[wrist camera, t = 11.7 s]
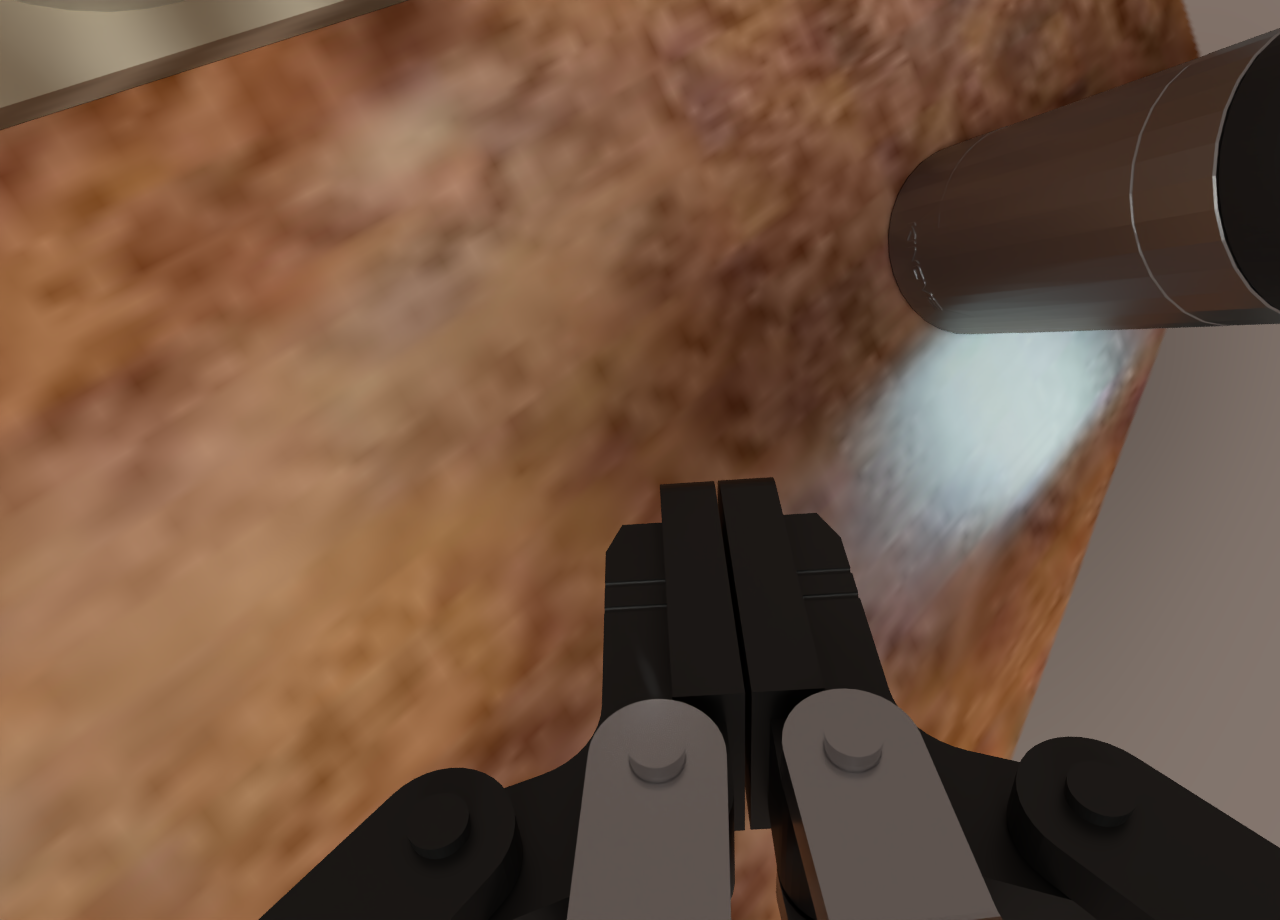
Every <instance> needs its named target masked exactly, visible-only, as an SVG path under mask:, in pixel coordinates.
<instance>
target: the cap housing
mask: <svg viewBox="0 0 1280 920" xmlns="http://www.w3.org/2000/svg"><path fill="white" fill-rule="evenodd" d="M15 1H19V2H23V3H26V4H31V5H38V6H44V7H51V8H57V9H63V10H70V11H96V12H117V11H128V10H139V9H150V8H155V7H159V6H164V5H168V4H172V3H177V2H181V1H186V0H15Z"/></svg>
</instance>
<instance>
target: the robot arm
mask: <svg viewBox="0 0 1280 920" xmlns="http://www.w3.org/2000/svg"><path fill="white" fill-rule="evenodd" d="M889 255H890V260H891V264H892V269H893V273H894V276H895V279H896V281H897V283H898V286H899V288H900V290H901V293H902V294H903V296H904V297H905V298H906V300H907V301H908V303H909V304H910V306H911V307H912V309H914V310H915V311H916V312H917V313H918V314H919V315H920V316H921V317H922V318H923V319H924V320H925V321H927V322H929V323H930V324H932V325H934V326H936V327H937V328H939V329H941V330H945V331H949V332H952V333H956V334H993V333H1034V332H1064V331H1093V330H1122V329H1151V328H1178V327H1179V328H1180V327H1210V326H1229V325H1256V324H1280V28H1279V29H1276V30H1274V31H1270V32H1268V33H1265V34H1262V35H1259V36H1256V37H1254V38H1251V39H1248V40H1246V41H1243V42H1240V43H1238V44H1234V45H1232V46H1229V47H1226V48H1223V49H1220V50H1218V51H1215V52H1212V53H1209V54H1208V55H1205V56H1202V57H1199V58H1197V59H1194V60H1191V61H1188V62H1185V63H1183V64H1180V65H1177V66H1174V67H1172V68H1169V69H1166V70H1163V71H1160V72H1158V73H1155V74H1152V75H1149V76H1146V77H1144V78H1141V79H1138V80H1135V81H1132V82H1130V83H1127V84H1124V85H1121V86H1119V87H1116V88H1113V89H1110V90H1107V91H1105V92H1102V93H1099V94H1096V95H1093V96H1091V97H1088V98H1085V99H1082V100H1079V101H1077V102H1074V103H1071V104H1068V105H1066V106H1063V107H1060V108H1057V109H1054V110H1052V111H1049V112H1046V113H1043V114H1040V115H1038V116H1035V117H1032V118H1029V119H1026V120H1024V121H1021V122H1018V123H1015V124H1013V125H1010V126H1006V127H1003V128H1000V129H997V130H995V131H992V132H989V133H986V134H984V135H981V136H978V137H975V138H973V139H970V140H967V141H964V142H962V143H959V144H956V145H953V146H951V147H948V148H946V149H943V150H941V151H938V152H936V153H934V154H933V155H932V156H930V157H929V158H927V159H926V160H925V161H923V162H922V163H921V164H920V165H919V166H918V167H917V168H916V169H915V170H914V171H913V173H912V174H911V175H910V176H909V177H908V179H907V180H906V182H905V184H904V186H903V187H902V189H901V191H900V193H899V194H898V197H897V200H896V203H895V206H894V209H893V212H892V215H891V222H890V229H889ZM660 495H661V512H662V523H649V524H633V525H622V527H621V528H620V530H619V532H618V533H617V535H616V537H615V538H614V540H613V541H612V543H611V545H610V546H609V548H608V550H607V551H606V568H605V614H604V648H603V687H602V710H601V717H600V720H599V723H598V726H597V728H596V730H595V732H594V734H593V736H592V737H591V739H590V740H589V742H588V743H587V744H586V746H585V747H584V748H583V749H582V750H581V751H580V752H579V753H578V754H577V755H576V756H574V757H573V758H572V759H571V760H569V761H568V762H567V763H565V764H563V765H561V766H560V767H558V768H556V769H554V770H552V771H550V772H547V773H545V774H543V775H540V776H537V777H534V778H532V779H529V780H526V781H523V782H520V783H518V784H515V785H512V786H509V787H507V788H503V786H502V785H501V784H500V783H499V782H497V781H496V780H495V779H494V778H492V777H490V776H489V775H487V774H485V773H483V772H480V771H477V770H473V769H467V768H447V769H441V770H436V771H433V772H430V773H427V774H424V775H422V776H420V777H418V778H415V779H414V780H412V781H410V782H409V783H407V784H406V785H404V786H403V787H401V788H400V789H399V790H398V791H396V792H395V793H394V794H393V795H392V796H391V797H390V798H389V799H387V800H386V801H385V802H384V803H383V804H382V805H381V806H380V807H379V808H378V809H377V810H376V811H375V812H374V813H372V814H371V815H370V816H369V817H368V818H367V819H366V820H365V821H364V822H363V823H362V824H361V825H360V826H358V827H357V828H356V829H355V830H354V831H353V832H352V833H351V834H350V835H349V836H348V837H347V838H346V839H345V840H343V841H342V842H341V843H340V844H339V845H338V846H337V847H336V848H335V849H334V850H333V851H332V852H331V853H329V854H328V855H327V856H326V857H325V858H324V859H323V860H322V861H321V862H320V863H319V864H318V865H317V866H316V867H314V868H313V869H312V870H311V871H310V872H309V873H308V874H307V875H306V876H305V877H304V878H303V879H302V880H300V881H299V882H298V883H297V884H296V885H295V886H294V887H293V888H292V889H291V890H290V891H289V892H288V893H287V894H285V895H284V896H283V897H282V898H281V899H280V900H279V901H278V902H277V903H276V904H275V905H274V906H273V907H272V908H270V909H269V910H268V911H267V912H266V913H265V914H264V915H263V916H262V917H261V918H260V919H259V920H731V897H732V895H733V890H734V884H735V859H734V831H740V830H745V791H746V799H747V806H748V814H749V822H750V829H770V828H771V830H772V837H773V843H774V850H775V856H776V863H777V877H776V896H777V903H778V907H779V912H780V916H781V920H1280V848H1279V847H1277V846H1276V845H1274V844H1273V843H1271V842H1269V841H1268V840H1266V839H1265V838H1263V837H1262V836H1260V835H1258V834H1257V833H1255V832H1254V831H1252V830H1250V829H1249V828H1247V827H1246V826H1244V825H1242V824H1241V823H1239V822H1238V821H1236V820H1235V819H1233V818H1231V817H1230V816H1228V815H1227V814H1225V813H1223V812H1222V811H1220V810H1219V809H1217V808H1215V807H1214V806H1212V805H1211V804H1209V803H1208V802H1206V801H1204V800H1203V799H1201V798H1200V797H1198V796H1197V795H1195V794H1193V793H1192V792H1190V791H1189V790H1187V789H1186V788H1184V787H1182V786H1181V785H1179V784H1178V783H1176V782H1174V781H1173V780H1171V779H1170V778H1168V777H1167V776H1165V775H1163V774H1162V773H1160V772H1159V771H1157V770H1155V769H1154V768H1152V767H1151V766H1149V765H1148V764H1146V763H1144V762H1143V761H1141V760H1140V759H1138V758H1136V757H1135V756H1133V755H1131V754H1129V753H1128V752H1126V751H1124V750H1122V749H1120V748H1118V747H1115V746H1113V745H1111V744H1108V743H1105V742H1101V741H1098V740H1094V739H1089V738H1082V737H1060V738H1054V739H1050V740H1046V741H1044V742H1042V743H1040V744H1038V745H1036V746H1034V747H1033V748H1032V749H1030V750H1029V751H1028V752H1027V753H1026V754H1025V756H1024V757H1023V758H1022V760H1021V762H1017V761H1012V760H1008V759H1003V758H999V757H994V756H990V755H985V754H981V753H976V752H972V751H967V750H964V749H960V748H957V747H953V746H951V745H948V744H946V743H943V742H941V741H939V740H937V739H935V738H933V737H932V736H930V735H928V734H926V733H925V732H924V731H922V730H921V729H919V728H918V727H917V726H916V725H915V724H914V722H913V721H912V720H911V718H910V717H909V716H908V715H907V714H906V713H905V712H904V711H903V710H901V709H900V708H899V707H898V706H897V705H896V703H895V701H894V700H893V698H892V695H891V693H890V691H889V688H888V685H887V682H886V678H885V675H884V672H883V669H882V666H881V663H880V660H879V656H878V653H877V650H876V647H875V644H874V641H873V638H872V634H871V631H870V628H869V625H868V622H867V619H866V616H865V612H864V609H863V606H862V603H861V600H860V598H858V590H857V587H856V584H855V581H854V578H853V575H852V573H851V572H850V565H849V562H848V559H847V556H846V553H845V550H844V546H843V543H842V540H841V537H840V536H839V535H838V534H837V533H836V532H835V531H834V530H833V529H832V528H831V527H830V526H829V525H828V524H827V523H826V522H825V521H824V520H823V519H822V518H821V517H820V516H819V515H818V514H817V513H807V514H791V515H783V513H782V509H781V504H780V500H779V496H778V492H777V488H776V484H775V481H774V478H773V477H769V478H753V479H737V480H721V481H718V503H717V496H716V489H715V484H714V481H709V482H693V483H677V484H661V485H660Z"/></svg>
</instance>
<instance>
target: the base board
mask: <svg viewBox="0 0 1280 920" xmlns="http://www.w3.org/2000/svg"><path fill="white" fill-rule="evenodd" d="M404 1H407V0H186V1H181V2H177V3H172V4H168V5H164V6H159V7H155V8H150V9H139V10H128V11H117V12H96V11H70V10H63V9H57V8H51V7H44V6H38V5H31V4H26V3H23V2H19V1H15V0H0V130H2V129H5V128H8V127H11V126H14V125H17V124H20V123H24V122H27V121H30V120H33V119H36V118H39V117H42V116H46V115H49V114H52V113H55V112H58V111H61V110H64V109H68V108H71V107H74V106H77V105H80V104H83V103H86V102H90V101H93V100H96V99H99V98H102V97H105V96H108V95H112V94H115V93H118V92H121V91H124V90H127V89H130V88H134V87H137V86H140V85H143V84H146V83H149V82H152V81H155V80H159V79H162V78H165V77H168V76H171V75H174V74H177V73H181V72H184V71H187V70H190V69H193V68H196V67H199V66H203V65H206V64H209V63H212V62H215V61H218V60H221V59H225V58H228V57H231V56H234V55H237V54H240V53H243V52H247V51H250V50H253V49H256V48H259V47H262V46H265V45H269V44H272V43H275V42H278V41H281V40H284V39H287V38H291V37H294V36H297V35H300V34H303V33H306V32H309V31H313V30H316V29H319V28H322V27H325V26H328V25H331V24H335V23H338V22H341V21H344V20H347V19H350V18H353V17H357V16H360V15H363V14H366V13H369V12H372V11H375V10H379V9H382V8H385V7H388V6H391V5H394V4H397V3H401V2H404Z"/></svg>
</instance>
